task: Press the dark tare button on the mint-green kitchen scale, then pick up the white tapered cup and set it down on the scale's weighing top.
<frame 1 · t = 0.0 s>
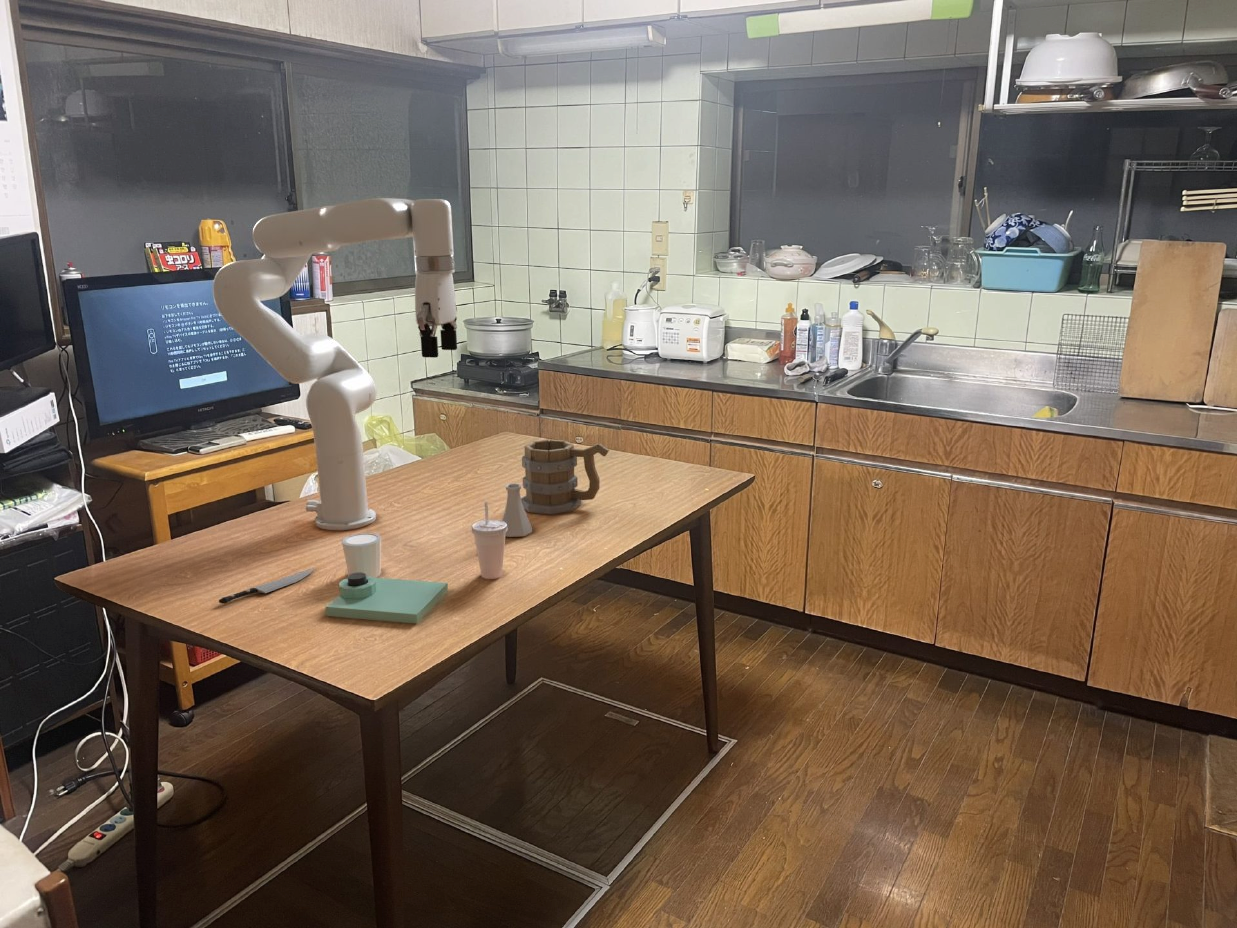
hand: (440, 353, 181), 37 cm above the table, tool pointing down, fingers open, 9 cm apart
tankard: (566, 507, 204), on the table
tare button: (357, 579, 154), point 4 cm above the table, slide at 0.1 cm
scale: (389, 603, 154), on the table
white tapered cup: (364, 575, 167), on the table
chef's knife: (273, 589, 161), on the table
smoothie: (491, 576, 166), on the table
flask: (515, 533, 188), on the table
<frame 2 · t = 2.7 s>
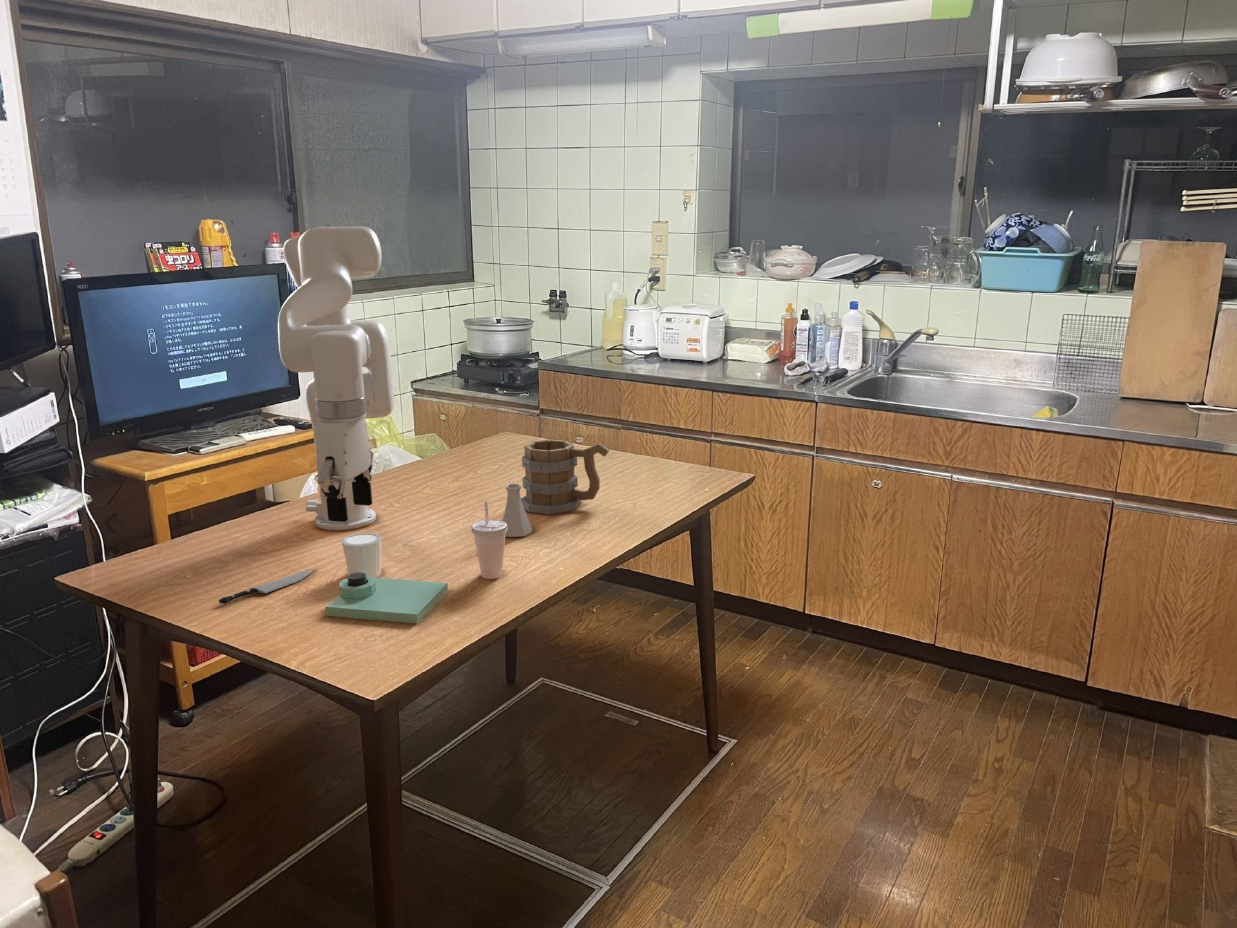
hand: (351, 511, 151), 16 cm above the table, tool pointing down, fingers open, 7 cm apart
nothing on the table moved.
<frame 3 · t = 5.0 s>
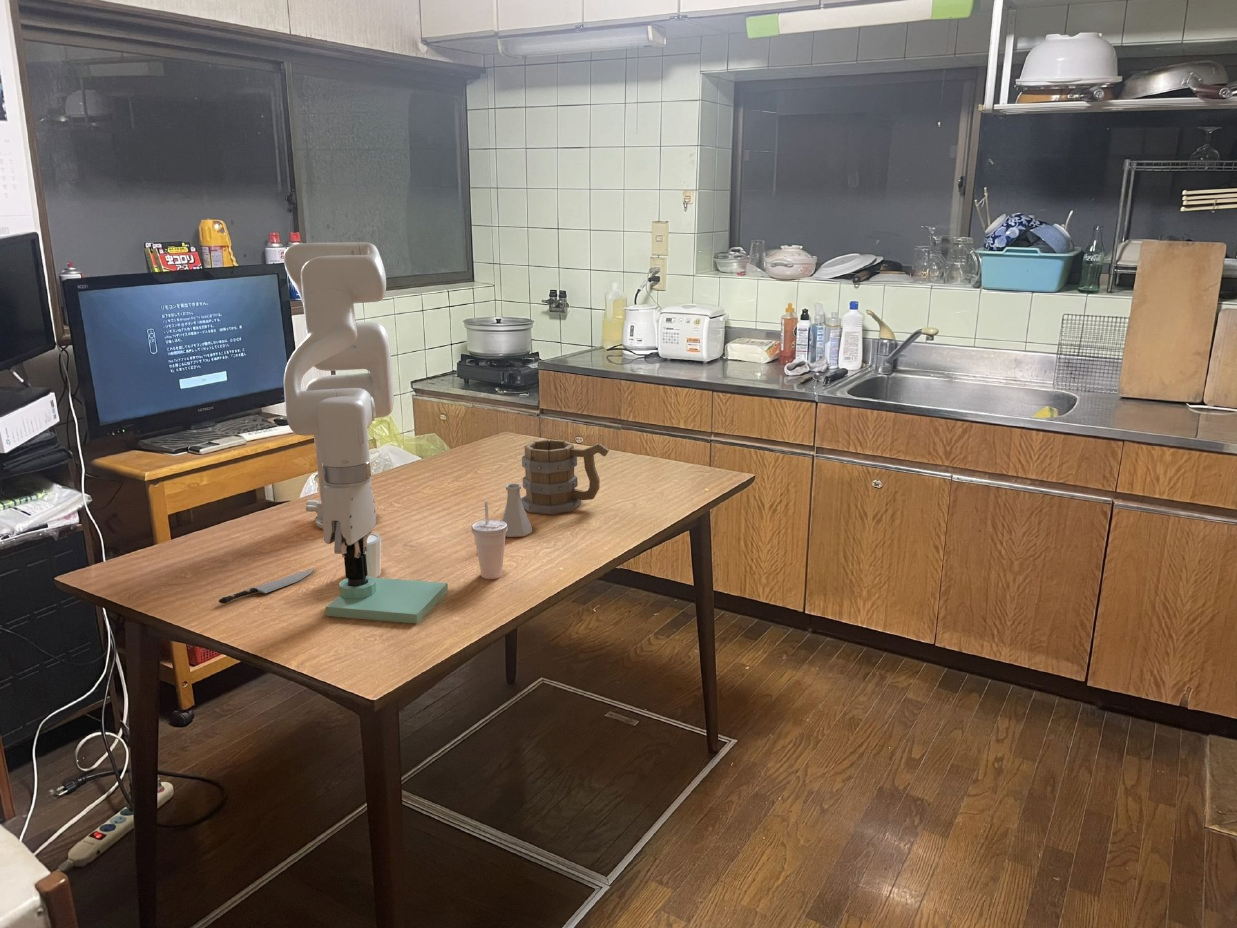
hand: (356, 576, 154), 5 cm above the table, tool pointing down, fingers closed
tare button: (357, 580, 154), point 4 cm above the table, slide at -0.1 cm, touching gripper
everything else where it was.
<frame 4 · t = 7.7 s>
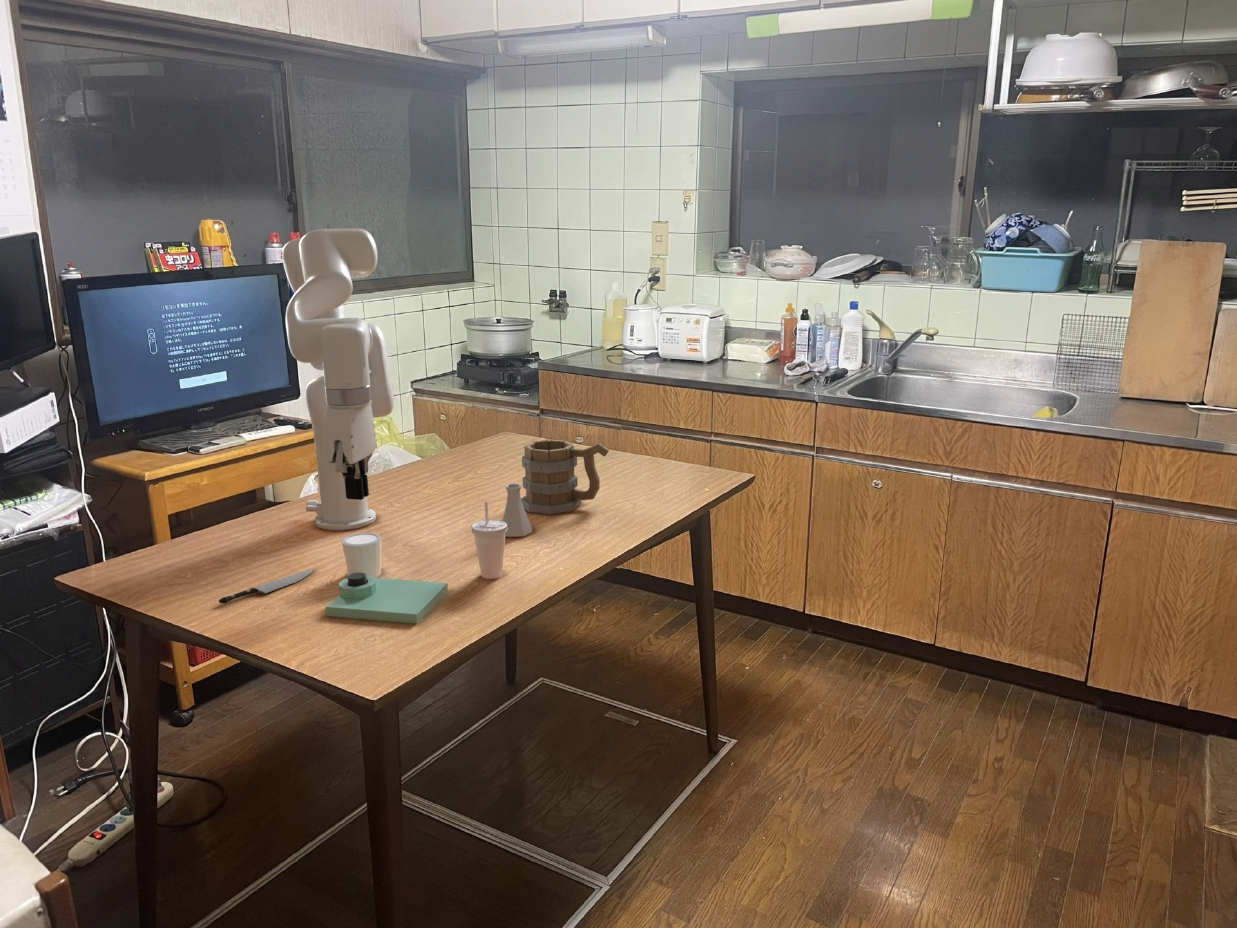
hand: (357, 496, 163), 15 cm above the table, tool pointing down, fingers closed
tare button: (357, 579, 154), point 4 cm above the table, slide at 0.1 cm
everything else where it was.
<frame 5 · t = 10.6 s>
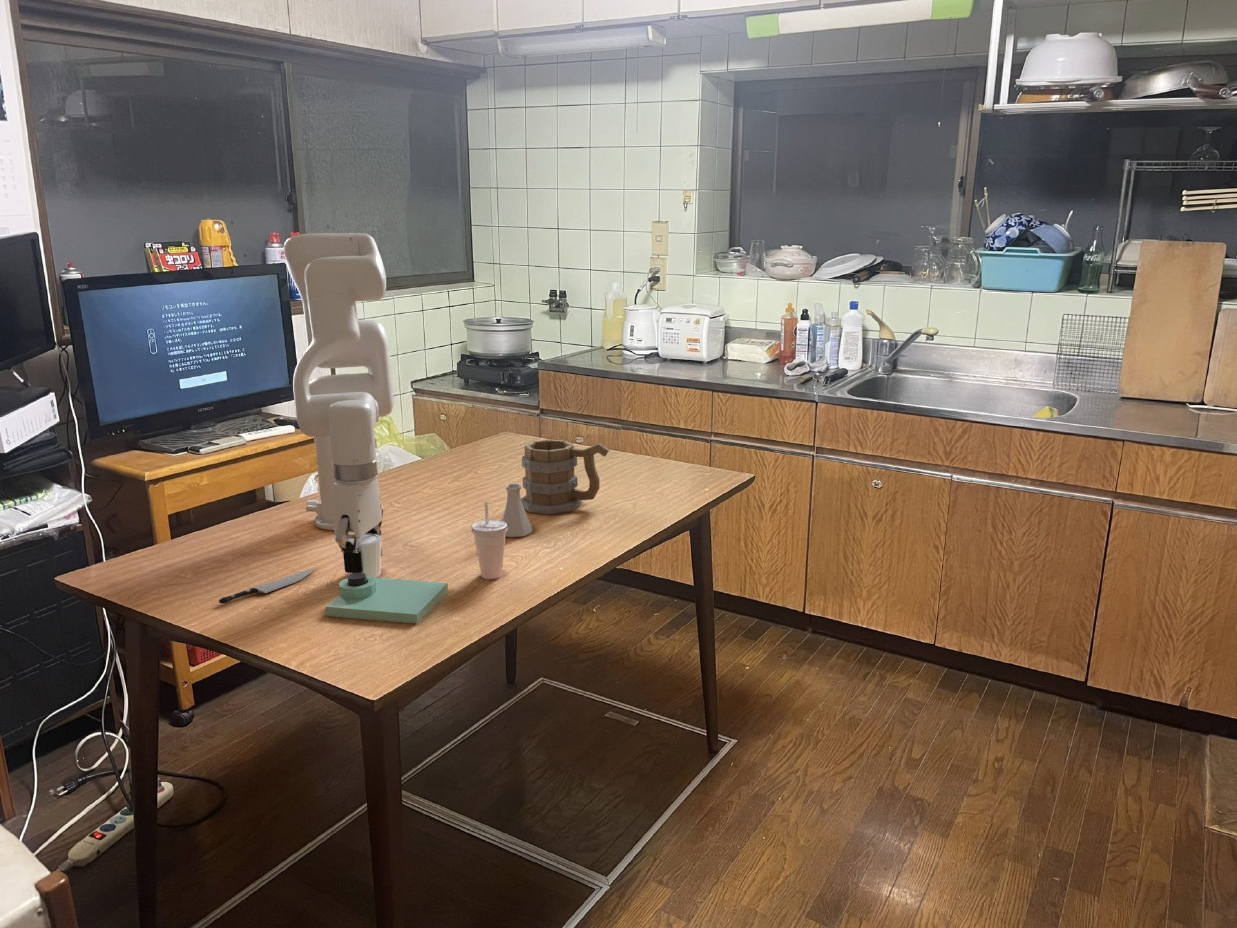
hand: (363, 563, 166), 2 cm above the table, tool pointing down, fingers closed on white tapered cup, 6 cm apart
white tapered cup: (364, 575, 167), on the table, touching gripper
everything else where it was.
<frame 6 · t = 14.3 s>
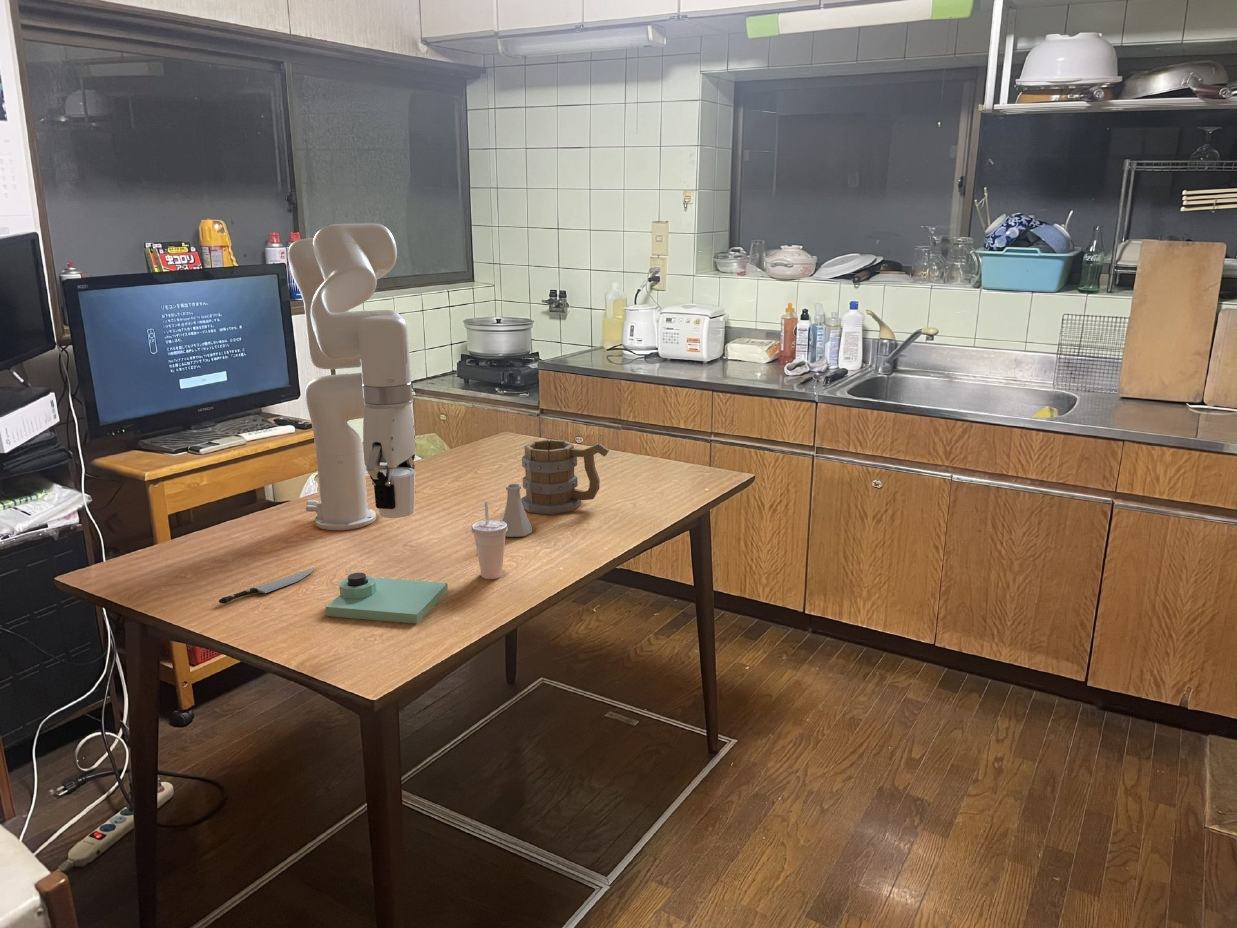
hand: (396, 500, 150), 18 cm above the table, tool pointing down, fingers closed on white tapered cup, 6 cm apart
white tapered cup: (397, 513, 151), point 16 cm above the table, touching gripper
everything else where it was.
when the fingers open (4 cm above the table, at t = 18.2 s): white tapered cup stays where it is, resting on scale.
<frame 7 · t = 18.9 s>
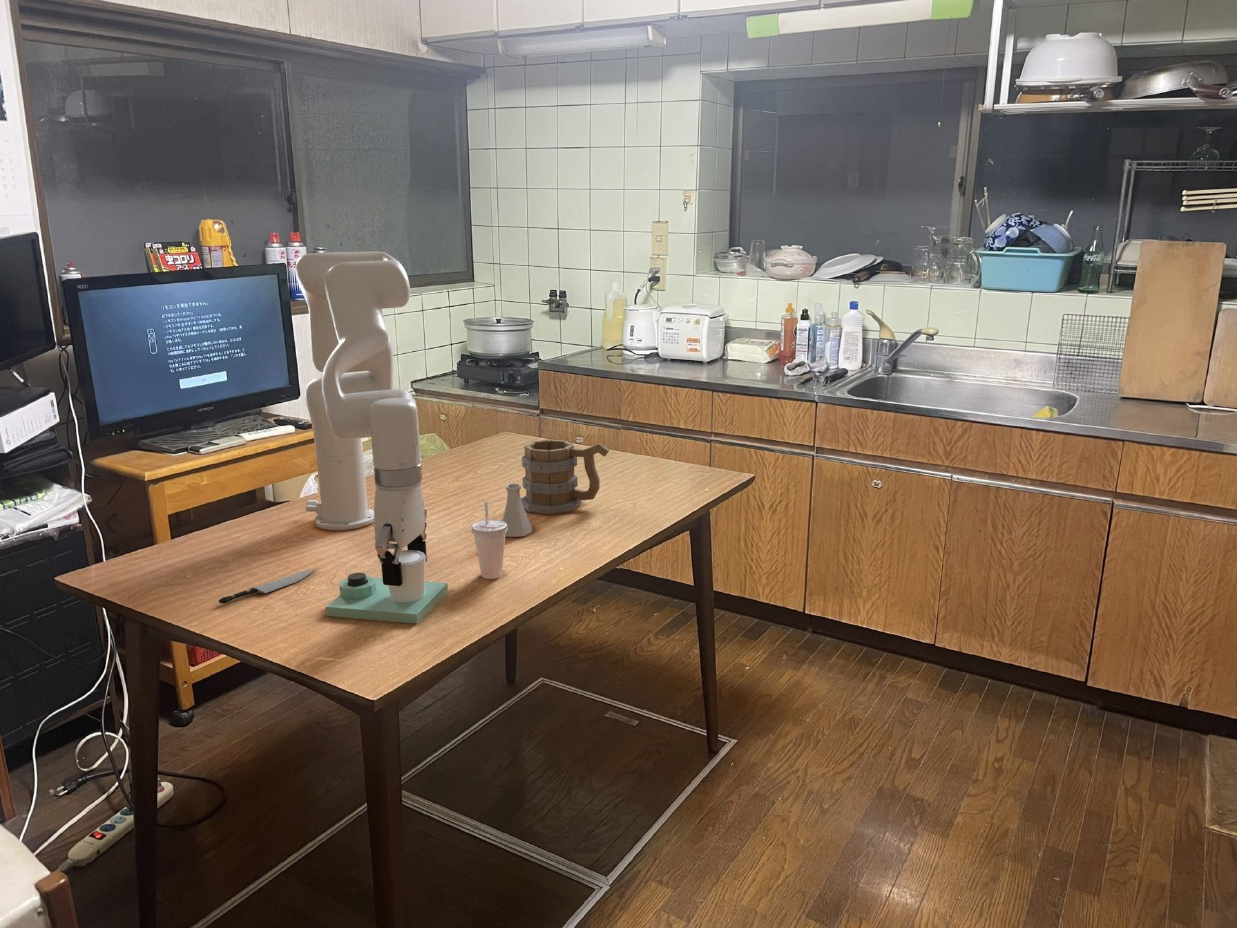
hand: (405, 573, 152), 6 cm above the table, tool pointing down, fingers open, 9 cm apart
white tapered cup: (407, 596, 153), point 2 cm above the table, touching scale
everything else where it was.
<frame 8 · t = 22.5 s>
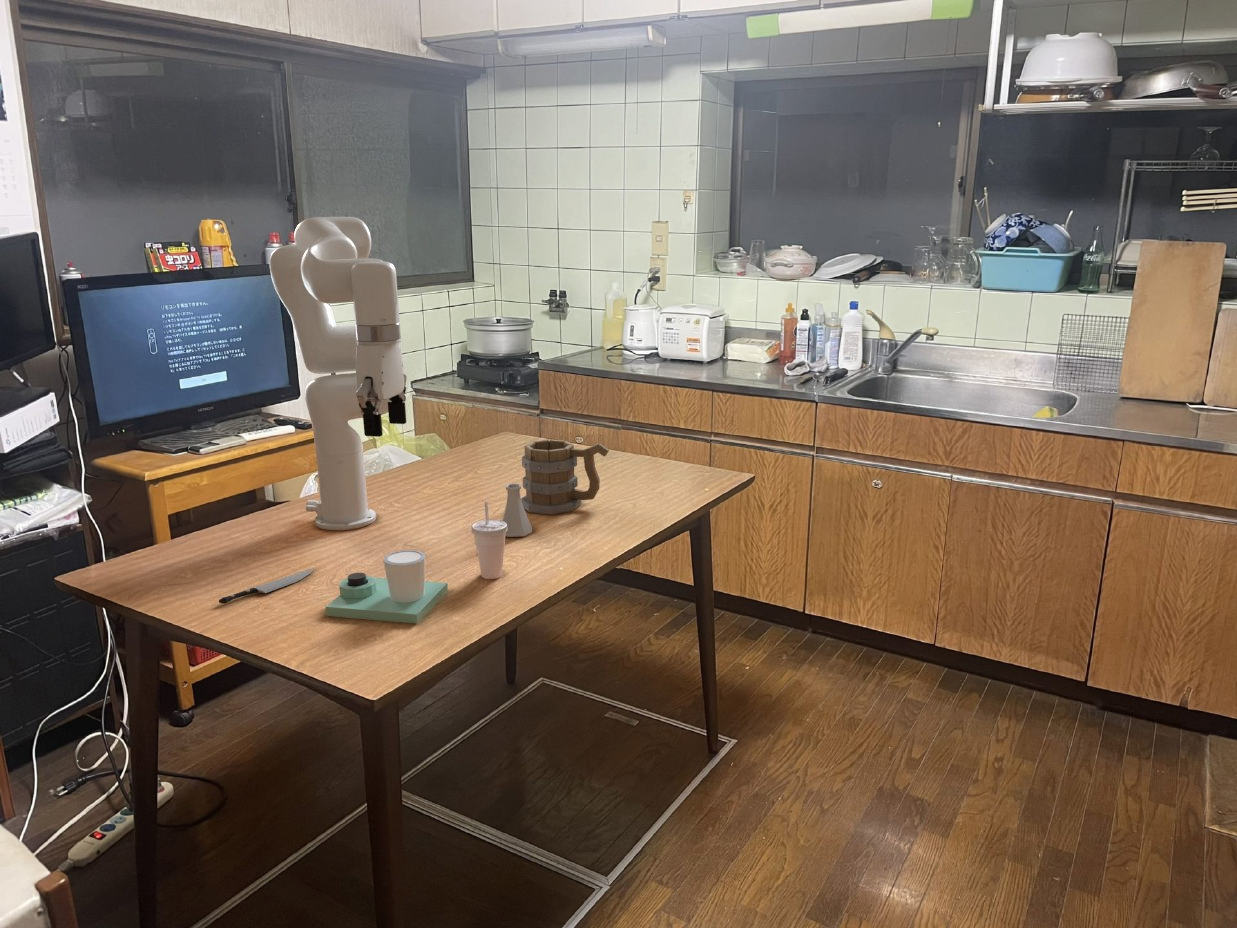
hand: (386, 429, 164), 26 cm above the table, tool pointing down, fingers open, 9 cm apart
nothing on the table moved.
at the end: tare button pushed in 1.1 cm at the most during the clip and back out by the end; white tapered cup inside the target area on the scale (0.4 cm from its centre), point 1.5 cm above the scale's base; white tapered cup touching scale; white tapered cup tilted 0° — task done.
